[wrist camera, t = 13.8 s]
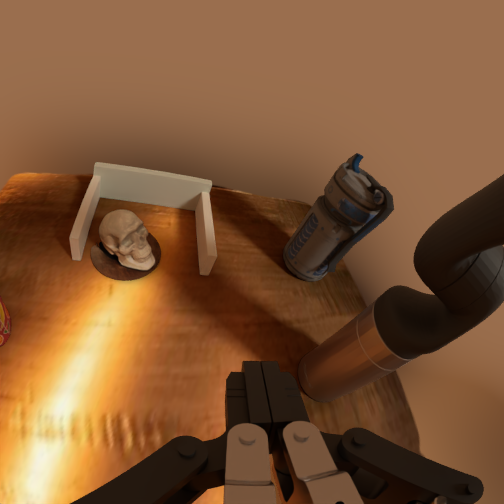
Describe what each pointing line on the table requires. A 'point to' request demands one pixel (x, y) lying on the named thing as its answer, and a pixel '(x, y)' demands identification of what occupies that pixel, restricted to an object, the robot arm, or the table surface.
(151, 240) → the skull
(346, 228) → the beverage bottle
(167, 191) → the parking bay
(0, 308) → the smoothie
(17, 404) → the table surface
